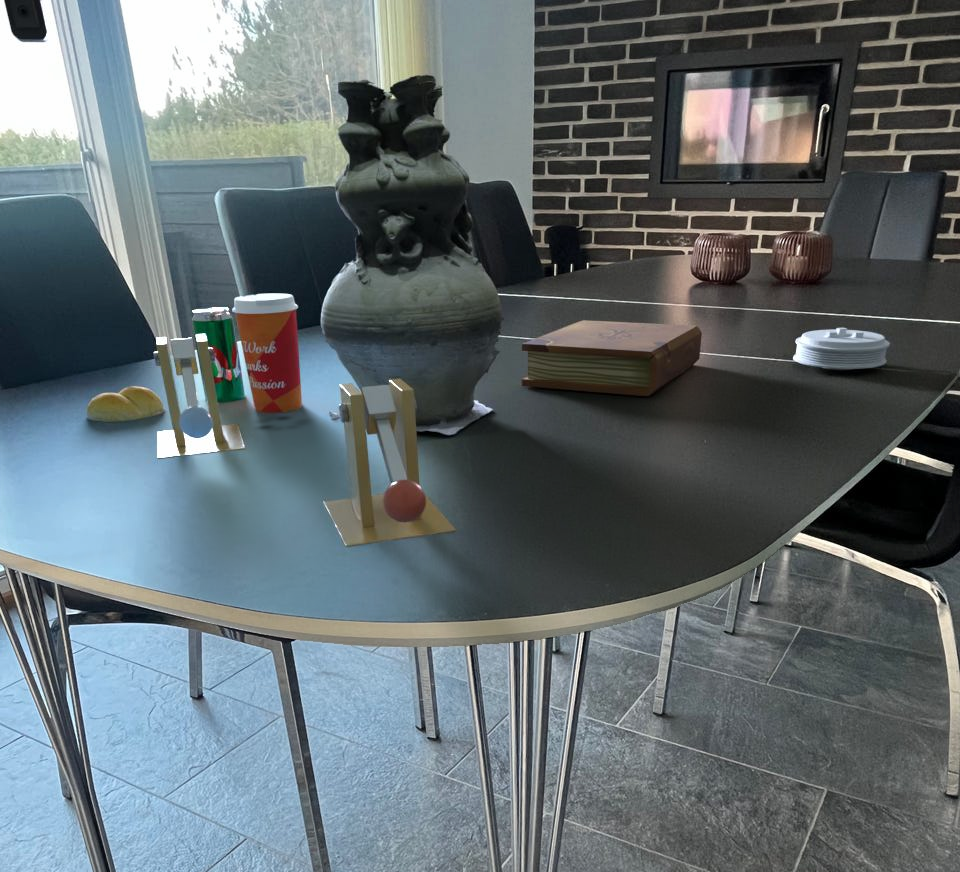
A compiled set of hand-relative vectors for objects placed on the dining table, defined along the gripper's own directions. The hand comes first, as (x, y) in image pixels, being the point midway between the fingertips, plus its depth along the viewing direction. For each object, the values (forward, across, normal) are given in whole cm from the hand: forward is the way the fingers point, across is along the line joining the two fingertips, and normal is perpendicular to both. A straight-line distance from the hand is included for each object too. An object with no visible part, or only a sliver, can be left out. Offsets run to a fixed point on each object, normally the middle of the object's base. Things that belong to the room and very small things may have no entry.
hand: (32, 40), depth 59 cm
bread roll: (+35, +39, +2) cm, 53 cm away
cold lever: (+29, +19, -6) cm, 35 cm away
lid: (+35, +30, -96) cm, 107 cm away
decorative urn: (+35, +27, -32) cm, 55 cm away
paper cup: (+35, +34, -16) cm, 51 cm away
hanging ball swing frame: (+35, +22, -6) cm, 42 cm away
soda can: (+35, +42, -10) cm, 56 cm away
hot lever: (+29, -12, -20) cm, 37 cm away
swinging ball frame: (+35, -9, -20) cm, 41 cm away
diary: (+35, +38, -64) cm, 82 cm away
